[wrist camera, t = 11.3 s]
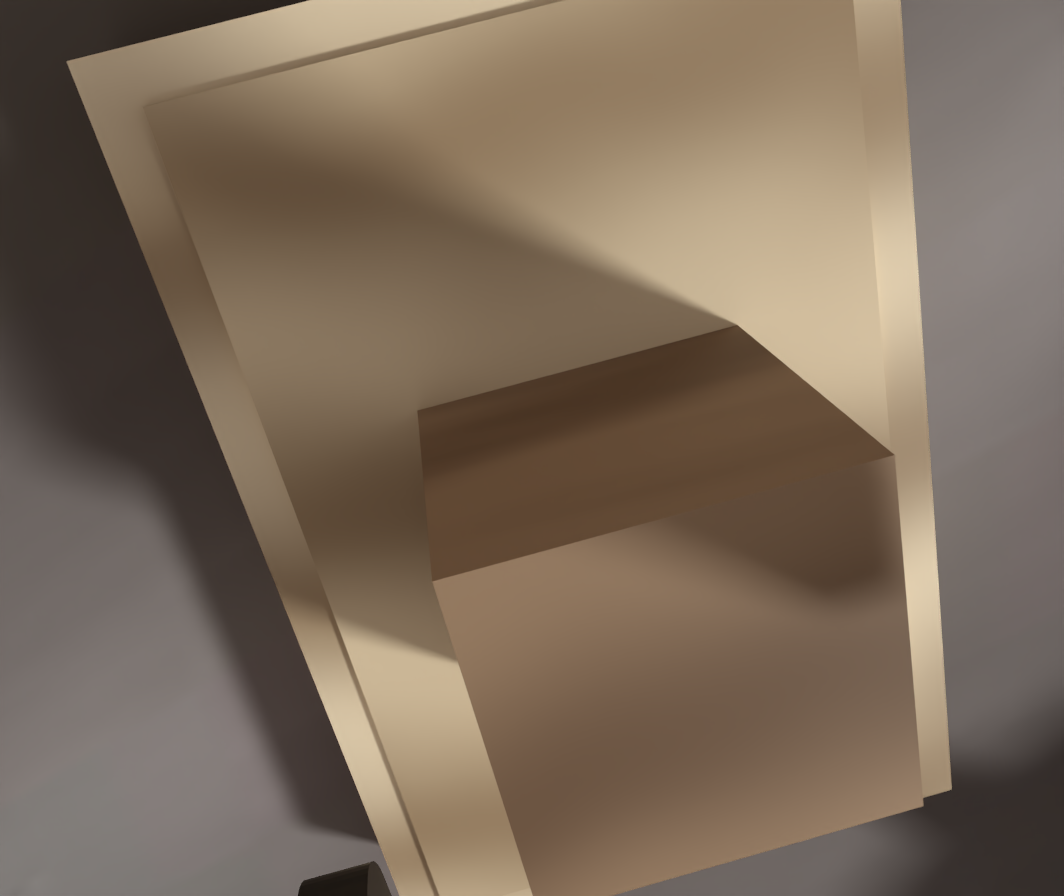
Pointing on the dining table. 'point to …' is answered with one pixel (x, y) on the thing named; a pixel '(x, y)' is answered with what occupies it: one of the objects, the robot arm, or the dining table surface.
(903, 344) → the plinth
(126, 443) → the dining table surface
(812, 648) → the cube
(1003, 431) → the dining table surface
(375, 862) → the robot arm
